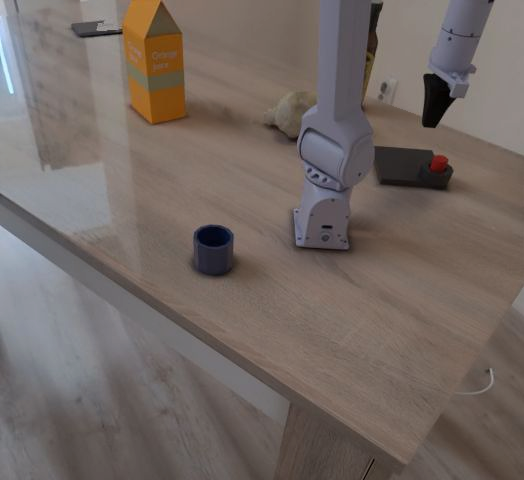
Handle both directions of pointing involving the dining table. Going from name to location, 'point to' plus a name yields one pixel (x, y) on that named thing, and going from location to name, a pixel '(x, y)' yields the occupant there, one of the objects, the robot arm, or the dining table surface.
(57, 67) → the dining table surface
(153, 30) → the orange juice
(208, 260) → the blue plastic cup
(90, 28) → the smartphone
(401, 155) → the scale
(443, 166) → the button
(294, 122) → the ginger root
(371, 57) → the sauce bottle
